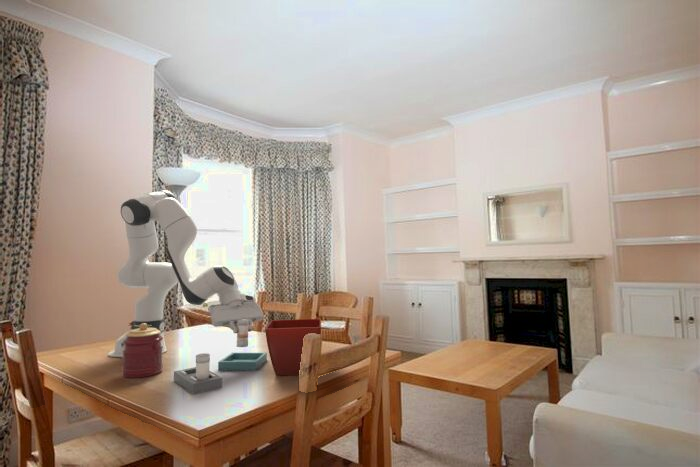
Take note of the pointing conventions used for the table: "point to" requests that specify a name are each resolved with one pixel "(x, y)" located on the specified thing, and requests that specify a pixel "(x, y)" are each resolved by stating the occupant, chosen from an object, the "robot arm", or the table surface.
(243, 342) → the grey capped cylinder
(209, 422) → the table surface
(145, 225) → the robot arm
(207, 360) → the fuse
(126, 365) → the canister
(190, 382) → the fuse block
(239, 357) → the tray
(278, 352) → the plant pot
